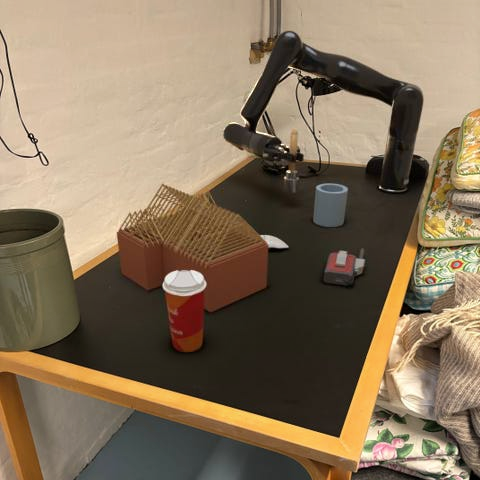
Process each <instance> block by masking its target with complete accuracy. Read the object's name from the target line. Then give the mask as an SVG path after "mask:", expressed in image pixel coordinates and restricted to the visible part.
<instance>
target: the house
mask: <svg viewBox="0 0 480 480" xmlns="http://www.w3.org/2000/svg"><path fill="white" fill-rule="evenodd" d="M162 188H163V189H162ZM160 191H161V192H160ZM210 199H211V201H212V203H211V202H210ZM165 204H166V205H165ZM169 205H170V206H169ZM167 208H168V209H167ZM176 208H177V209H176ZM175 209H176V210H175ZM165 211H166V212H165ZM174 211H175V212H174ZM134 216H135V217H134ZM128 219H129V220H128ZM127 220H128V221H127ZM129 224H130V225H129ZM116 239H117V248H118V255H119V262H120V263H119V264H120V270H121V274H122V275H124V276H125V277H127V279H130V280H131V281H133V282H134V283H136V284H137V285H139V286H140V287H142V288H143V289H145V290H147V291H150V290H153V289H156V288H158V287H161V286H163V283H164V280H165V277H166V276H167V275H168V274H169V273H171V272H173V271H177V270H178V272H179V271H181V270H188V271H190V270H194V271H197V272H199V273H201V274H202V275H203V277H204V280H205V281H206V287H205V289H204V310H205V311H207V312H209V313H213V312H215V311H217V310H219V309H222V308H224V307H226V306H228V305H230V304H232V303H235V302H237V301H239V300H241V299H244V298H246V297H248V296H251V295H252V294H255V293H257V292H260V291H261V290H262V291H263V290H264V289H266V288H267V285H268V264H269V263H268V262H269V261H268V260H269V247H268V244H267V242H266V241H265V240H264V239H263V238H262V237H261V236H260V233H259V232H257V230H255V229H254V228H253V227H252V226H251V225H250V224H249V222H247V220H245V219H244V218H243V217H242V216H241V215H240V214H239V213H237V214H236V212H235V211H233V212H232V211H230V210H227V209H226V208H225V207H224V208H223V207H222V206H218V205H217V204H216V202H215V200H214V198H213V197H212V195H211V193H210V191H209V190H208V191H207V192H206V193H205V192H201V194H200V193H198V194H197V195H196V194H194V195H192V194H189V193H186V192H185V191H182V190H179V189H177V188H175V187H171V186H170V185H169V186H168V184H164V182H163V183H161V185H160V186H159V188H158V189H157V191H156V192H155V194H154V196H153V197H152V199H151V201H150V202H149V204H148V205H147V207H145V208H144V209H143V210H142V209H141V208H140V210H139V211H138V212H137V211H136V210H134V211H133V213H132V212H129V213H128V214H127V216H126V217H125V219H124V220H123V222H122V224H121V226H120V227H119V229H118V230H117V231H116ZM190 272H191V271H190Z"/></svg>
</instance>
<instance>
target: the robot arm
mask: <svg viewBox="0 0 480 480" xmlns="http://www.w3.org/2000/svg"><path fill="white" fill-rule="evenodd" d="M288 68H289V69H294V70H298V71H301V72H304V73H307V74H309V75H312V76H313V77H316V78H317V79H319V78H325V79H326V80H327V81H329V82H331V83H332V84H334V85H335V86H337V87H339V88H340V89H339V88H338V89H339V90H342V91H344V92H347V93H349V94H352V95H356V96H359V97H365V98H369V99H375V100H378V101H380V102H382V103H383V104H386V105H387V106H390V107H391V110H390V117H389V123H388V129H387V130H388V131H387V137H386V143H385V150H384V156H383V162H382V167H381V175H380V180H379V185H378V189H379V190H380V191H381V192H385V193H391V194H402V193H405V192H407V190H408V184H409V181H410V180H409V179H410V173H411V168H412V163H413V162H412V161H413V157H414V153H415V147H416V141H417V137H418V132H419V128H420V122H421V117H422V112H423V108H424V100H425V99H424V93H423V90H422V89H421V87H419V86H418V85H416V84H413V83H409V82H406V81H402V80H399V79H396V78H392V77H389V76H388V75H385V74H383V73H381V72H380V71H378V70H376V69H375V68H373V67H370V66H368V65H366V64H364V63H362V62H361V61H358V60H356V59H353V58H350V57H348V56H345V55H342V54H337V53H332V52H331V53H330V52H326V51H325V52H324V51H321V50H319V49H316V48H314V47H312V46H311V45H308V44H307V43H305V42H303V41H302V39H301V36H300V35H299V34H298V33H297V32H295V31H293V30H285V31H282V32H281V33H280V34H279V35H278V36H277V37H276V39H275V41H274V44H273V46H272V49H271V51H270V55H269V57H268V59H267V61H266V64H265V66H264V68H263V70H262V73H261V74H260V76H259V78H258V79H257V82H256V84H255V85H254V87H253V89H252V90H251V92H250V94H249V95H248V98H247V99H246V101H245V103H244V104H243V106H242V108H241V110H240V113H239V114H240V116H241V118H242V119H243V120H244V125H242V124H240V123H237V122H231V123H230V122H229V123H228V124H226V126H224V128H223V131H222V137H223V139H224V141H225V142H226V143H227V144H228V145H230V146H232V147H234V148H236V149H237V150H239V151H242V152H243V151H245V152H247V153H249V154H252V155H254V156H255V157H257V158H259V159H263V160H264V161H268V162H281V161H283V162H288V163H289V162H292V163H296V164H297V162H304V159H305V158H304V157H305V154H304V153H302V152H301V148H300V147H299V146H298V145H297V157H296V155H294V154H291V153H289V151H290V145H287V144H284V143H283V141H282V140H281V138H279V137H277V136H274V135H271V134H268V133H265V132H259V131H257V129H258V126H259V122H260V120H261V119H262V117H263V115H264V113H265V112H266V110H267V108H268V107H269V105H270V102H271V100H272V99H273V96H274V93H275V91H276V89H277V87H278V84H279V82H280V80H281V79H282V77H283V76H284V75H285V72H286V71H287V70H288ZM335 86H334V87H335ZM337 87H336V88H337Z"/></svg>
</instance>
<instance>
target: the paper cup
mask: <svg viewBox="0 0 480 480" xmlns="http://www.w3.org/2000/svg"><path fill="white" fill-rule="evenodd" d="M190 271H191V272H190ZM190 271H188V270H181V271H179V272H178V270H177V271H173V272H171V273H169V274H168V275H167V276H166V277H165V280H164V283H163V285H162V289H163V290H164V293H165V300H166V307H167V308H166V309H167V314H168V319H169V320H168V321H169V329H170V335H171V342H172V345H173V348H174V349H175V350H177V351H178V352H182V353H191V352H195V351H197V350H199V349H200V348H201V347H202V345H203V339H204V315H205V314H204V313H205V309H204V289H205V287H206V281H205V280H204V277H203V275H202V274H201V273H199V272H197V271H194V270H190Z"/></svg>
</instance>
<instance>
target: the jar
mask: <svg viewBox="0 0 480 480" xmlns="http://www.w3.org/2000/svg"><path fill="white" fill-rule="evenodd" d="M348 191H349V188H348V187H347V186H345V185H343V184H339V183H331V182H330V183H321V184H318V185H316V187H315V196H314V205H313V206H314V207H313V217H312V220H313V223H314V224H316V225H317V226H320V227H324V228H336V227H341V226H343V225H344V222H345V217H346V216H345V214H346V208H347V200H348Z"/></svg>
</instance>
